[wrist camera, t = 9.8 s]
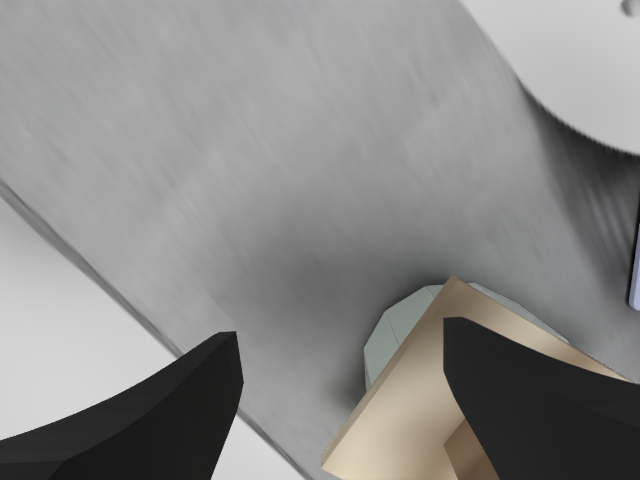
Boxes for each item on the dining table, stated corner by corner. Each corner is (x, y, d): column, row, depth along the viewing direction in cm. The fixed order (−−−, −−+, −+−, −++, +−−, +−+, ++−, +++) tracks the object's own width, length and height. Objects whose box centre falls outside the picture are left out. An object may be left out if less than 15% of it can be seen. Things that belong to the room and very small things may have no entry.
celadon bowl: (536, 275, 20) (601, 309, 16) (526, 424, 23) (579, 495, 18) (359, 287, 21) (369, 324, 16) (367, 432, 23) (378, 504, 18)
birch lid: (648, 390, 17) (775, 480, 12) (500, 545, 19) (556, 670, 14) (452, 274, 15) (506, 322, 11) (321, 455, 18) (319, 559, 13)
